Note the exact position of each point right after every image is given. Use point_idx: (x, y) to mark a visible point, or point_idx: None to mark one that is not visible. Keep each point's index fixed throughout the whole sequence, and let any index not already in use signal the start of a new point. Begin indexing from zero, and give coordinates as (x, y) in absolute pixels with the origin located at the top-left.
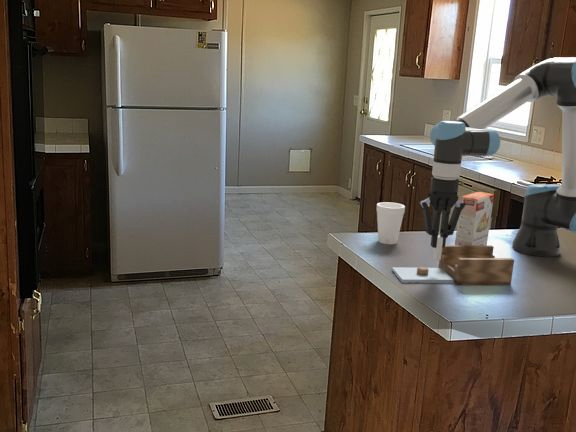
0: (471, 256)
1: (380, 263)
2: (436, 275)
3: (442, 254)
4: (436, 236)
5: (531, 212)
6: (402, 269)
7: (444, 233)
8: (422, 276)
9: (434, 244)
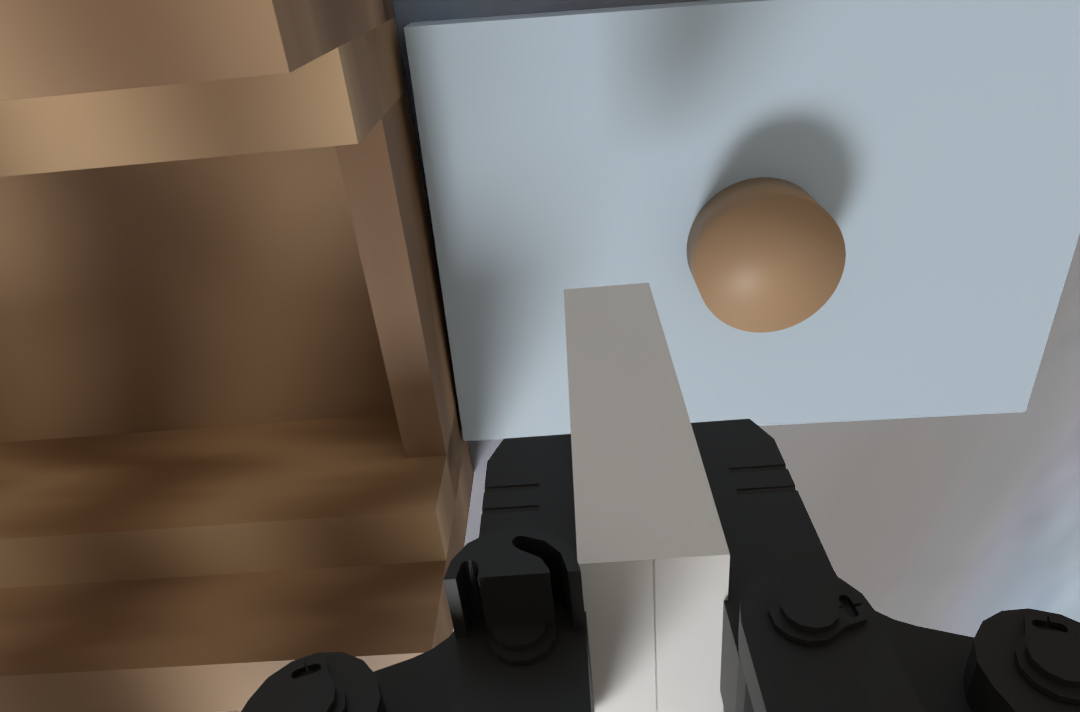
0: (60, 534)
1: (1006, 564)
2: (599, 182)
3: (439, 562)
4: (790, 584)
5: None
6: (938, 357)
7: (546, 686)
8: (803, 127)
9: (738, 463)
